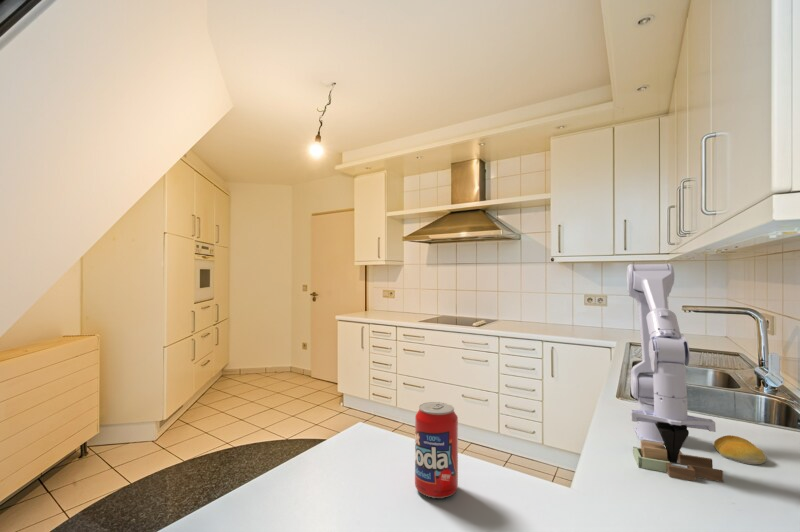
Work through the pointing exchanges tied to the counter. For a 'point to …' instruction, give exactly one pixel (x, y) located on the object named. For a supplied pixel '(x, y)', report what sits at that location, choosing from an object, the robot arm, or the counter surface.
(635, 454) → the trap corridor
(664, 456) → the oak block
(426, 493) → the soda can
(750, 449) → the bread roll
